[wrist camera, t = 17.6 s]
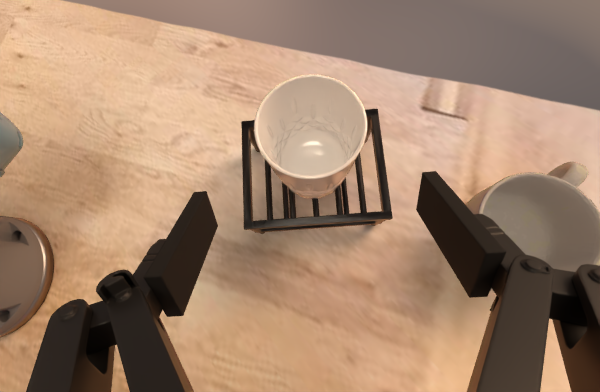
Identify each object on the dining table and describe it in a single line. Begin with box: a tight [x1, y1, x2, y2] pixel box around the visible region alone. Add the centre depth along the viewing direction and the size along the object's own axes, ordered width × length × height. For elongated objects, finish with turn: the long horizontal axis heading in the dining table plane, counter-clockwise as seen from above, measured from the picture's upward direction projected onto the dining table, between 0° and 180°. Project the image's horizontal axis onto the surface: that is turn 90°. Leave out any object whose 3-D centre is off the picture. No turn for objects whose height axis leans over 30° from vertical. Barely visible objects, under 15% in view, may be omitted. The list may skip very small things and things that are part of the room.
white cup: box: [254, 74, 367, 199], centre depth 24 cm, size 8×8×10 cm
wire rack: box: [242, 109, 392, 234], centre depth 32 cm, size 15×12×7 cm
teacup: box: [466, 162, 600, 272], centre depth 29 cm, size 14×11×8 cm
